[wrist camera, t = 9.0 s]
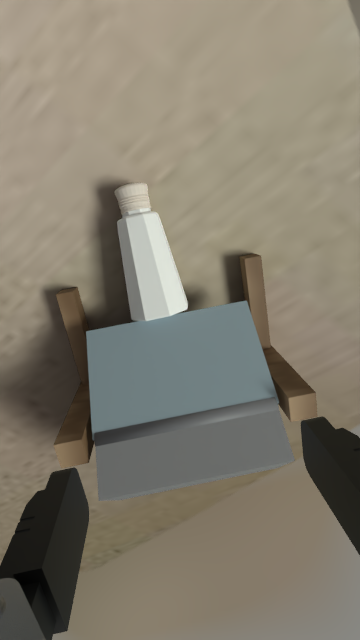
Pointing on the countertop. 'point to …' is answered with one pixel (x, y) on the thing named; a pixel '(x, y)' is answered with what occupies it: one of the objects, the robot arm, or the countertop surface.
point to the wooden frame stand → (77, 425)
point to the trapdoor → (182, 402)
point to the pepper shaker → (147, 258)
